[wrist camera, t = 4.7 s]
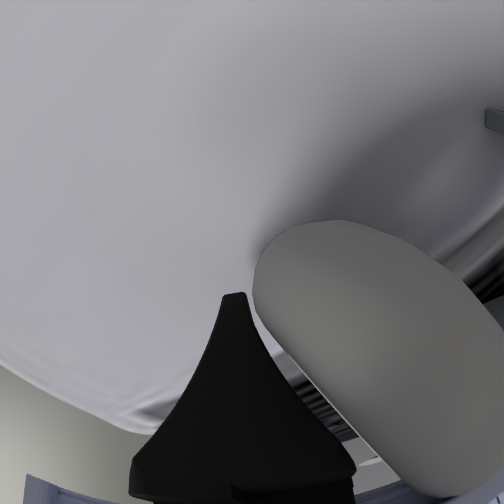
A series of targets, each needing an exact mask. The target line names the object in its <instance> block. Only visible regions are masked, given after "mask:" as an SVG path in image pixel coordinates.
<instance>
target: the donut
mask: <svg viewBox="0 0 504 504" xmlns="http://www.w3.org/2000/svg"><path fill="white" fill-rule="evenodd" d="M252 296H253V301H254V305H255V310H256V312H257V314H258V316H259V317H260V319H261V321H262V323H263V324H264V326H265V327H266V329H267V330H268V331H269V332H270V334H271V335H272V336H273V337H274V339H275V340H276V341H277V342H278V343H279V345H280V346H281V347H282V348H283V349H284V351H285V352H286V353H287V354H288V355H289V357H290V358H291V359H292V360H293V361H294V363H295V364H296V365H297V366H298V367H299V368H300V370H301V371H302V372H303V373H304V374H305V375H306V377H307V378H308V379H309V380H310V381H311V382H312V384H313V385H314V386H315V387H316V388H317V389H318V390H319V392H320V393H321V394H322V395H323V396H324V397H325V398H326V400H327V401H328V402H329V403H330V404H331V405H332V406H333V407H334V409H335V410H336V411H337V412H338V413H339V414H340V415H341V416H342V418H343V419H344V420H345V421H346V422H347V423H348V424H349V425H350V426H351V427H352V429H353V430H354V431H355V432H356V433H357V434H358V435H359V436H360V437H361V438H362V439H363V440H364V442H365V443H366V444H367V445H368V446H369V447H370V448H371V449H372V450H373V451H374V452H375V453H376V454H377V455H378V456H379V458H380V459H381V460H382V461H383V462H384V463H385V464H386V465H387V466H388V467H389V468H390V469H391V470H392V471H393V472H394V473H395V474H396V475H397V476H398V477H399V478H400V479H401V480H403V482H404V483H405V484H406V485H407V486H408V487H410V488H411V489H413V490H414V491H416V492H417V493H419V494H420V495H422V496H425V497H430V498H436V499H443V498H448V497H453V496H458V495H463V494H465V493H467V492H469V491H471V490H473V489H475V488H477V487H479V486H481V485H483V484H485V483H486V482H487V481H489V480H490V479H491V478H492V477H493V476H494V475H495V474H496V473H497V472H498V471H499V470H500V469H501V468H502V467H503V466H504V332H503V330H502V328H501V326H500V325H499V324H498V323H497V321H496V320H495V319H494V318H493V316H492V315H491V314H490V313H489V311H488V310H487V309H486V308H485V307H484V305H483V304H482V303H481V302H480V301H479V300H478V298H477V297H476V296H475V295H474V294H473V293H472V292H471V290H470V289H469V288H468V287H467V286H466V285H465V284H464V283H463V282H462V280H461V279H460V278H459V277H458V276H456V275H455V274H453V273H452V272H451V271H449V270H448V269H447V268H445V267H444V266H442V265H441V264H440V263H438V262H437V261H435V260H434V259H432V258H431V257H429V256H428V255H427V254H425V253H424V252H422V251H421V250H419V249H418V248H416V247H415V246H413V245H412V244H410V243H409V242H407V241H406V240H404V239H402V238H399V237H396V236H393V235H391V234H388V233H385V232H382V231H379V230H376V229H374V228H371V227H368V226H365V225H362V224H359V223H354V222H350V221H345V220H331V221H322V222H313V223H307V224H302V225H296V226H293V227H292V228H290V229H288V230H286V231H284V232H283V233H281V234H279V235H277V236H276V237H275V239H274V240H273V241H272V242H271V243H270V244H269V245H268V246H267V247H266V248H265V249H264V251H263V253H262V255H261V257H260V259H259V262H258V264H257V266H256V268H255V273H254V281H253V290H252Z"/></svg>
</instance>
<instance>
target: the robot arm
mask: <svg viewBox="0 0 504 504" xmlns="http://www.w3.org/2000/svg"><path fill="white" fill-rule="evenodd" d="M356 470H357V469H356V466H355V463H354V461H353V460H352V458H351V456H350V455H349V453H348V452H347V451H346V449H345V448H344V446H343V445H342V443H341V442H340V440H339V439H338V438H337V437H336V436H335V435H334V434H333V433H332V432H330V431H329V430H328V429H327V428H326V427H325V426H324V424H323V423H322V422H321V421H320V420H319V419H318V418H317V417H316V416H315V415H314V414H313V413H312V412H311V410H310V409H309V408H308V407H307V406H306V405H305V403H304V402H303V401H302V400H301V398H300V397H299V396H298V395H297V394H296V392H295V391H294V390H293V388H292V387H291V386H290V384H289V383H288V382H287V380H286V379H285V377H284V376H283V375H282V373H281V372H280V370H279V369H278V367H277V366H276V364H275V362H274V361H273V359H272V357H271V356H270V354H269V352H268V350H267V349H266V347H265V345H264V343H263V341H262V339H261V337H260V335H259V333H258V331H257V329H256V327H255V325H254V322H253V318H252V315H251V311H250V307H249V303H248V299H247V296H246V293H244V292H238V293H232V294H226V295H224V296H223V297H222V301H221V305H220V309H219V313H218V316H217V319H216V322H215V325H214V328H213V331H212V333H211V336H210V339H209V341H208V344H207V346H206V349H205V351H204V353H203V355H202V358H201V360H200V362H199V364H198V366H197V368H196V370H195V372H194V374H193V376H192V378H191V380H190V382H189V384H188V385H187V387H186V389H185V391H184V392H183V394H182V396H181V397H180V399H179V400H178V402H177V404H176V405H175V407H174V408H173V410H172V411H171V412H170V414H169V415H168V417H167V418H166V419H165V421H164V422H163V423H162V425H161V426H160V427H159V428H158V430H157V431H156V432H155V434H154V435H153V436H152V437H151V438H150V440H149V441H148V442H147V443H146V444H145V445H144V446H143V447H142V448H141V450H139V452H138V453H137V454H136V455H135V456H134V457H133V459H132V465H131V469H130V475H129V495H130V496H132V497H135V498H138V499H143V500H147V501H151V502H154V504H504V466H503V467H502V468H501V469H500V470H499V471H498V472H497V473H496V474H495V475H494V476H493V477H492V478H491V479H490V480H489V481H487V482H486V483H485V484H483V485H481V486H479V487H477V488H475V489H473V490H471V491H469V492H467V493H465V494H463V495H458V496H453V497H448V498H443V499H436V498H430V497H425V496H422V495H420V494H419V493H417V492H416V491H414V490H413V489H411V488H410V487H408V486H407V485H406V484H405V483H404V482H403V480H399V481H397V482H394V483H391V484H389V485H386V486H383V487H380V488H377V489H374V490H370V491H367V492H364V493H361V494H357V495H354V492H353V481H352V476H353V475H354V474H355V473H356ZM23 504H119V503H114V502H109V501H105V500H101V499H97V498H93V497H89V496H85V495H83V494H79V493H76V492H73V491H70V490H66V489H64V488H61V487H58V486H57V485H54V484H52V483H49V482H46V481H44V480H42V479H39V478H37V477H34V476H32V475H30V474H27V475H26V482H25V489H24V499H23Z"/></svg>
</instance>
